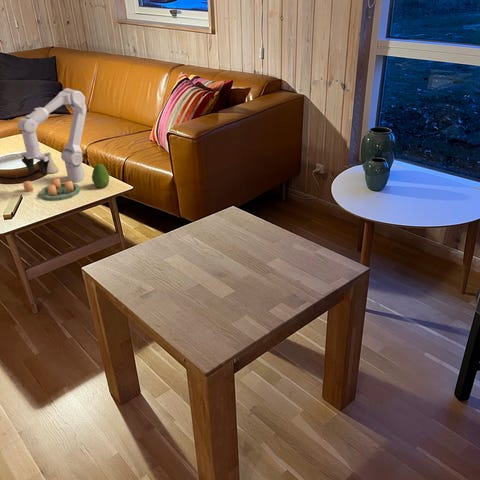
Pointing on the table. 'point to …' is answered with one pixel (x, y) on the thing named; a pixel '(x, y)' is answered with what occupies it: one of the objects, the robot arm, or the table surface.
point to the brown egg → (28, 186)
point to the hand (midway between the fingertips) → (38, 173)
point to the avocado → (100, 176)
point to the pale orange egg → (52, 190)
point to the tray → (60, 193)
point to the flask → (51, 165)
